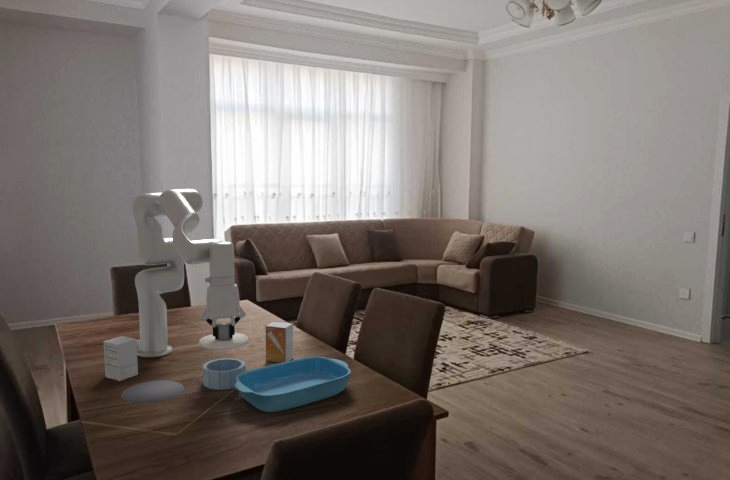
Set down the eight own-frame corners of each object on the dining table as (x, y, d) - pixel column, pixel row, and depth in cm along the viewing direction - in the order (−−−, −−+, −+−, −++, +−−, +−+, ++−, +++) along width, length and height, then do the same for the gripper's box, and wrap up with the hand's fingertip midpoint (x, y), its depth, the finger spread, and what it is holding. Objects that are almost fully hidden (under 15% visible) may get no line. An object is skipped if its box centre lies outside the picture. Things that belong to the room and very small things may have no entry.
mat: (107, 401, 164) (107, 399, 164) (145, 379, 182) (145, 378, 182) (161, 407, 160) (161, 406, 160) (195, 385, 177) (195, 383, 177)
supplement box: (124, 371, 189) (122, 335, 187) (138, 375, 185) (137, 338, 184) (104, 378, 183) (102, 340, 181) (119, 382, 179) (117, 344, 177)
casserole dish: (255, 424, 151) (255, 398, 150) (222, 397, 168) (221, 374, 167) (364, 392, 173) (364, 370, 172) (324, 372, 191) (324, 352, 190)
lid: (189, 347, 172) (189, 328, 171) (214, 334, 187) (213, 316, 186) (234, 351, 169) (234, 331, 168) (256, 337, 183) (255, 319, 182)
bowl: (195, 388, 175) (194, 369, 174) (216, 374, 187) (215, 356, 186) (233, 392, 171) (233, 373, 171) (252, 377, 184) (251, 360, 183)
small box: (265, 361, 201) (265, 325, 199) (273, 355, 207) (273, 321, 205) (286, 363, 198) (285, 327, 197) (293, 358, 204) (293, 323, 203)
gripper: (194, 284, 170) (196, 343, 172) (250, 281, 174) (251, 339, 176) (194, 280, 177) (196, 336, 179) (248, 277, 181) (249, 332, 183)
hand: (223, 337), depth 177 cm, fingers closed on lid, 4 cm apart
